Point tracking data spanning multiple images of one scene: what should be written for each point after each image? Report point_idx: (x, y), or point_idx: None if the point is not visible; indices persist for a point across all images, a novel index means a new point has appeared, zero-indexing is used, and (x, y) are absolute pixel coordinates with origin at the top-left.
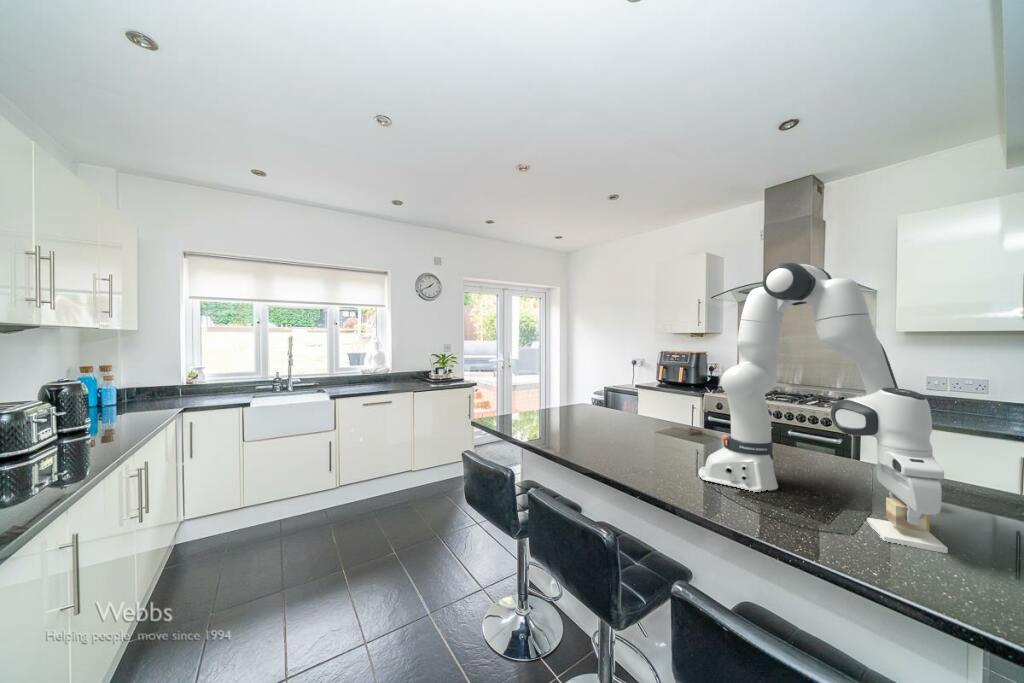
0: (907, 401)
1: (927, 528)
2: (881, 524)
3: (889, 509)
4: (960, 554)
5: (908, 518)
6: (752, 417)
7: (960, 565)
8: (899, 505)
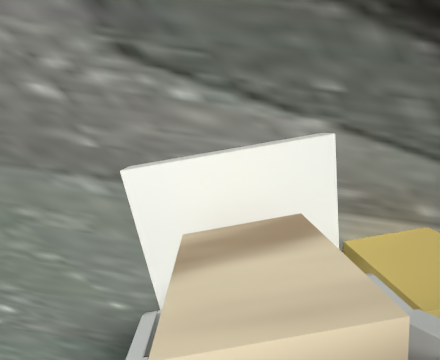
0: None
1: None
2: (274, 181)
3: (278, 261)
4: None
5: (134, 338)
6: None
7: (100, 331)
8: None
